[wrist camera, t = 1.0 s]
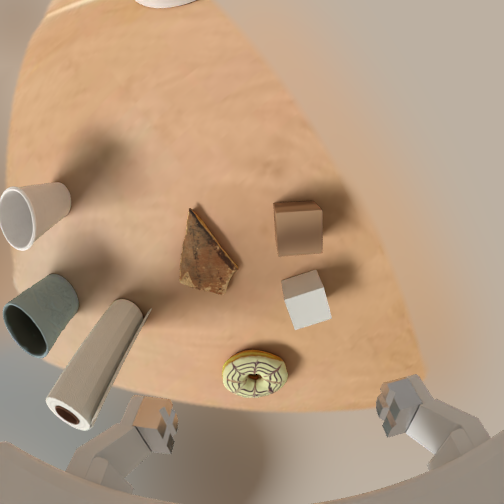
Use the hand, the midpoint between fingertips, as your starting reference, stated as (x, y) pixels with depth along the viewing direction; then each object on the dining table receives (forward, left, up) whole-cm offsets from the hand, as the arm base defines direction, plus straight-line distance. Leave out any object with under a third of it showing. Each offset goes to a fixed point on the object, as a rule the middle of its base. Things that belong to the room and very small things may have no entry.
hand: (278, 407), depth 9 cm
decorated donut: (+26, -3, -28) cm, 38 cm away
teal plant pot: (+10, -36, -27) cm, 46 cm away
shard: (+5, -9, -28) cm, 30 cm away
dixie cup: (-6, -30, -27) cm, 41 cm away
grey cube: (+11, +5, -27) cm, 30 cm away
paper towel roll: (+14, -22, -27) cm, 38 cm away
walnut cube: (+1, +4, -27) cm, 28 cm away
